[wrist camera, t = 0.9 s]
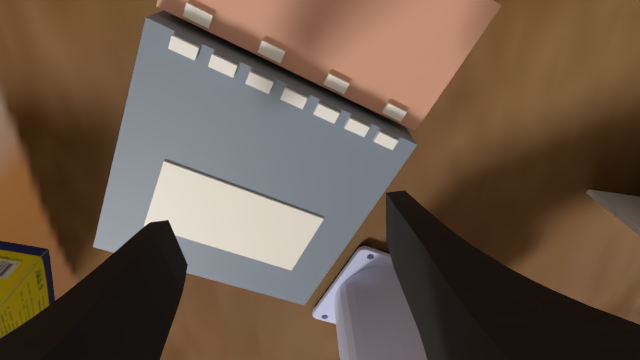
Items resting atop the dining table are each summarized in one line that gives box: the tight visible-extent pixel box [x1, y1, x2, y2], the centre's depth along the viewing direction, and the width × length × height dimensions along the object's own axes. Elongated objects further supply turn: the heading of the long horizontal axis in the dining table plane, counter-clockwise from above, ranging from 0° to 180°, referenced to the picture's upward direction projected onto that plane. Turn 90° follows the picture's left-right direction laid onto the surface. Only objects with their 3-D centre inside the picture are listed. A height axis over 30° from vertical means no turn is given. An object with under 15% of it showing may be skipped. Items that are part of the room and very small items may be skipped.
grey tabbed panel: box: [93, 10, 417, 305], centre depth 19 cm, size 12×12×4 cm
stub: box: [156, 0, 501, 131], centre depth 15 cm, size 12×6×3 cm, turn 63°
